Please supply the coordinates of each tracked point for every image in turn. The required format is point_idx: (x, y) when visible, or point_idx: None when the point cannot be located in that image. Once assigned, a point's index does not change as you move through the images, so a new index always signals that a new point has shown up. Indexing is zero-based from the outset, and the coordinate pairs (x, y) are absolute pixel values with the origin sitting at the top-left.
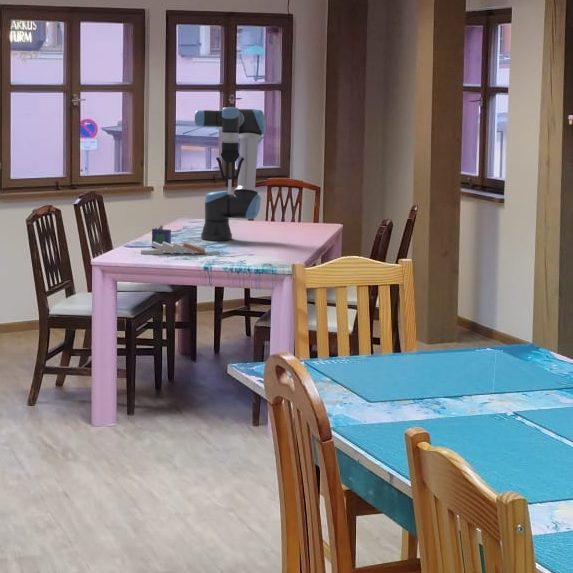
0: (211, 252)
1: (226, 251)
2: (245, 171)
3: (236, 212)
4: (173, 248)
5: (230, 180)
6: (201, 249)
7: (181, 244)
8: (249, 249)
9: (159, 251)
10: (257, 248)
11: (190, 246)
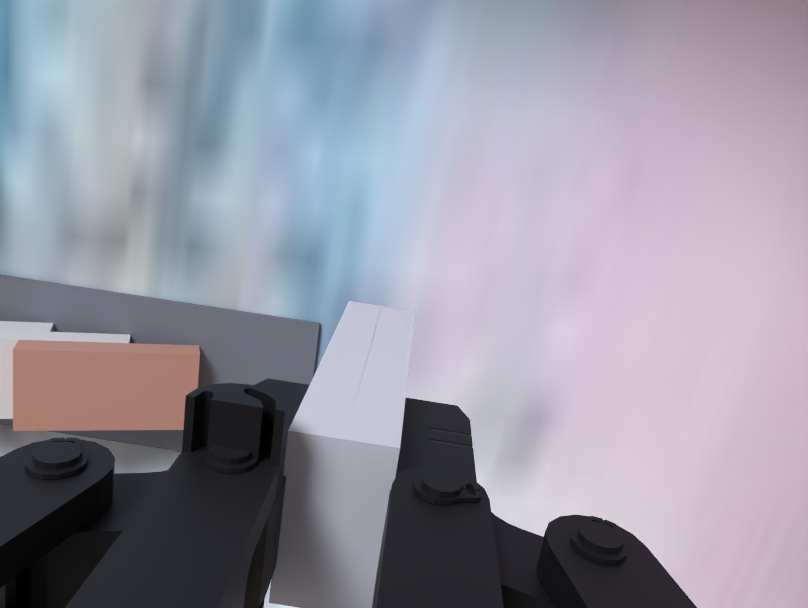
0: (258, 336)
1: (383, 262)
2: None
3: None
4: None
5: (339, 604)
6: (165, 426)
7: (7, 345)
8: (586, 174)
9: None
10: (669, 124)
11: (75, 427)
